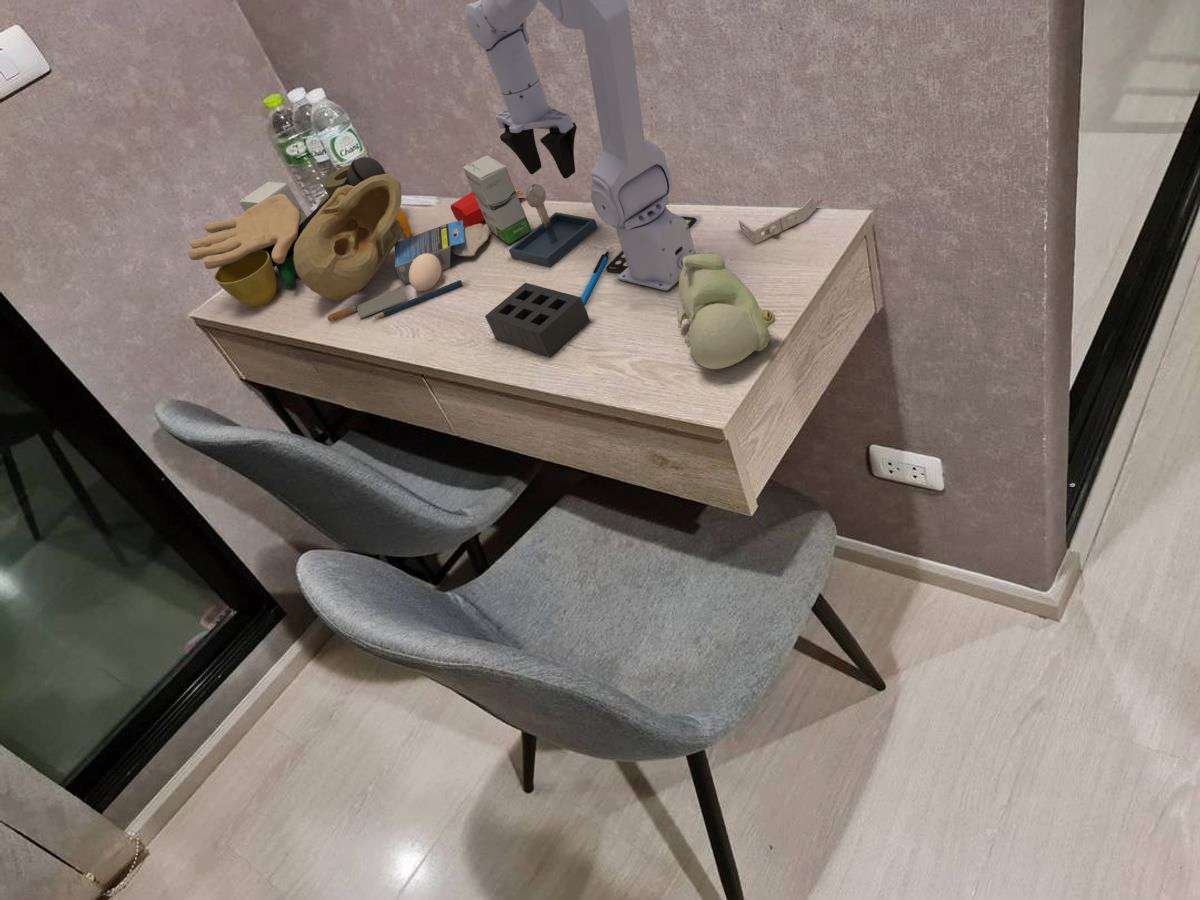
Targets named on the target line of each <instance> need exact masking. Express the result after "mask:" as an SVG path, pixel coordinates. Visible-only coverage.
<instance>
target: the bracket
mask: <svg viewBox="0 0 1200 900" xmlns="http://www.w3.org/2000/svg"><path fill="white" fill-rule="evenodd" d="M822 202H823V201H822V200H820V201H819V200H818V201H817V202H815V204H814V203H813V199H812V198H811V197H810V198H809V199H808V200H807V201H806V202H805V203H804V204H803V205H802V207H800V208H798V209H793V210H792V211H790V212H787V213H785V214H784V215H782V216H779V217H777V218H775V219H774V220H771V221H769V222H767V223H765V224H763V225H762V226H761V227H759V228H757V229H755V230H754V229H752V228H751V227H750V226H748V225H747V224H746V223H745V222H744V221H743V220H741V219H738V225H739V228H740V232H741V233H742V234H743V235H744V236H746V238H748V239H749V240H751V242H752V243H754V244H760V243H761V242H763V241H766V240H767V239H769V238H771V237H774V236H776V235H778V234H780V233H782V232H783V231H785V230H788V229H789V228H791V227H794V226H796V225H798V224H800V223H802V222H804V221H805V220H807V219H808V217H810V215H812V214H813V212H814V211H815V210H816V209H817V208H818V207H819V206H820V204H822ZM762 233H763V235H762Z"/></svg>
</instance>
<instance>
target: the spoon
mask: <svg viewBox="0 0 1200 900" xmlns="http://www.w3.org/2000/svg"><path fill="white" fill-rule="evenodd" d="M525 198H526V202H527V204H528V205H529V206H530V207H531V208H535V209H536V211H537V213H538V217H539V219H540V221H541V224H543V227H544V229H545V232H546V234H547V237H548V239H549V242H550V243H554V242H555V241H556V240H557V237H556V234H555V232H554V229H553V227H552V224H551V221H550V219H549V217H550V216H549V213H548V211H547V208H546V206H545V201H546V198H547V192H546V190H545V187H544V186H543V185H541V184H537V183H533V184H531V185H530V186H529V187H528V189H527V190H526V194H525Z"/></svg>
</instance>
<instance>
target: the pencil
mask: <svg viewBox="0 0 1200 900" xmlns="http://www.w3.org/2000/svg"><path fill="white" fill-rule="evenodd" d="M463 286H464V284H463V281H462V279H459V280H456V281H454V282H451V283H449V284H446V285H444V286H442V287H439V288H436V289H434V290H431V291H428V292H426V293H424V294H421V295H419V296H417V297H414V298H412V299H408V300H407V301H404V302H402V303H399V304H397V305H394V306H392V307H389V308H387V309H384V310H382V311H380V313H378V314H377V315H376V316H374V319H377V318H384V317H388V316H390V315H393V314H396V313H398V312H400V311H403V310H407V309H408V308H410V307H413V306H416V305H418V304H421V303H423V302H425V301H428V300H431V299H433V298H436V297H437V296H441V295H442V294H446V293H447V292H451V291H452V290H455V289H458V288H460V287H463Z"/></svg>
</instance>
